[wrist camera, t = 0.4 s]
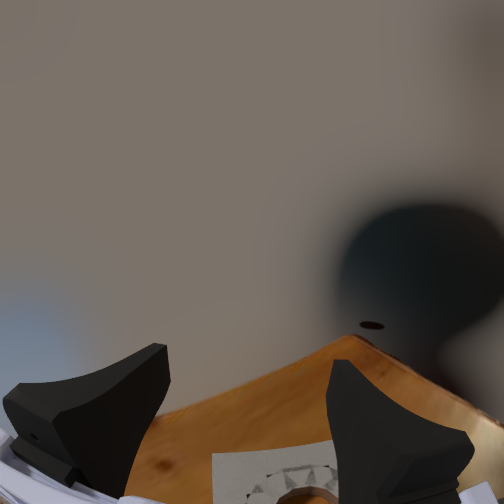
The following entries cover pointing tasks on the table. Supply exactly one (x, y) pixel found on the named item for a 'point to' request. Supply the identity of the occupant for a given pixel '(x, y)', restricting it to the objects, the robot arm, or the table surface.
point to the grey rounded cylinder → (501, 501)
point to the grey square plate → (275, 474)
